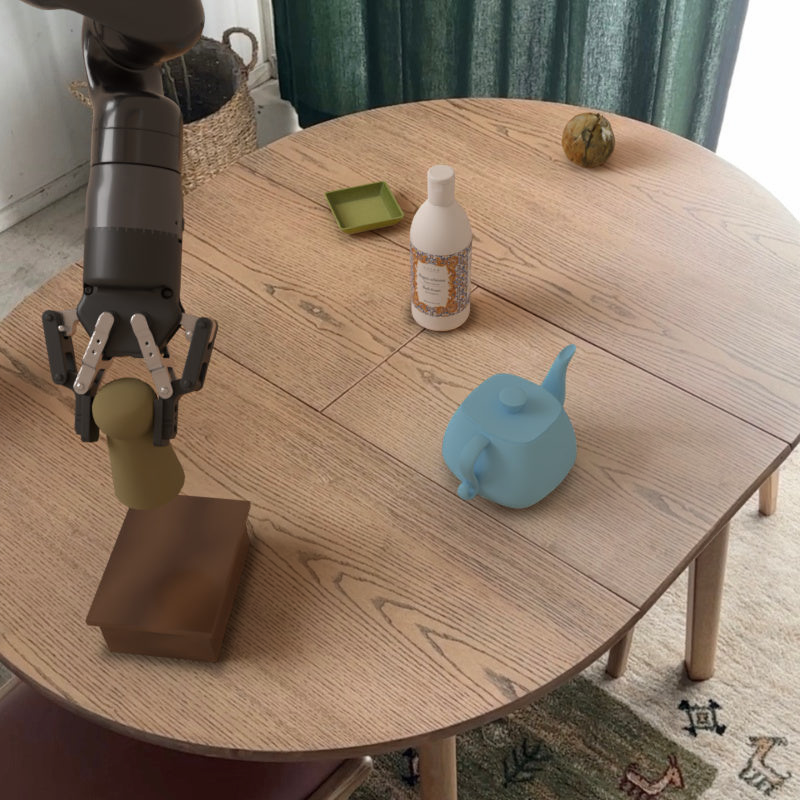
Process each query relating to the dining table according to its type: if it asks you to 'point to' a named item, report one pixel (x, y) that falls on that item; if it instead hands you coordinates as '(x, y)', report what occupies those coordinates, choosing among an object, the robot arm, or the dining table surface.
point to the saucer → (364, 207)
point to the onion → (588, 140)
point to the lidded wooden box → (173, 578)
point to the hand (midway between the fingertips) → (125, 443)
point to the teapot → (512, 438)
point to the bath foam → (440, 256)
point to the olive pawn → (136, 445)
